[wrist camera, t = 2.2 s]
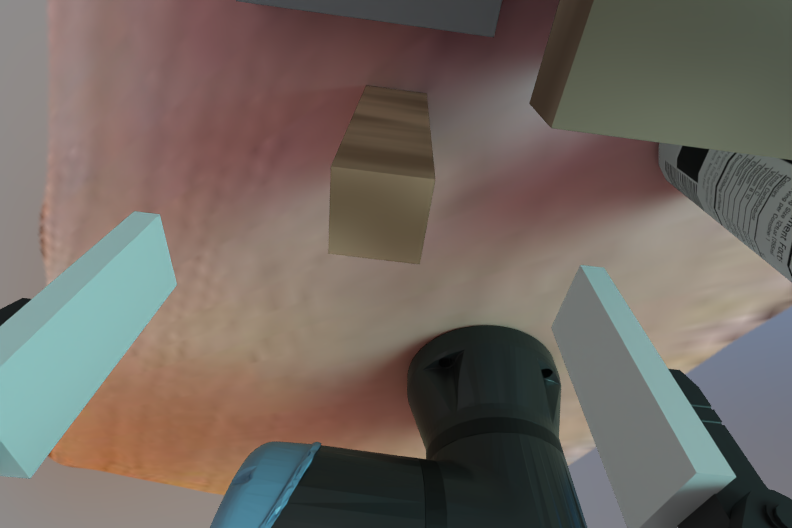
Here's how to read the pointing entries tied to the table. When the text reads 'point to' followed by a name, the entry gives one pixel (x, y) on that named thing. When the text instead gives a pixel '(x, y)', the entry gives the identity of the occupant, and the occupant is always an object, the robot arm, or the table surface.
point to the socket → (408, 12)
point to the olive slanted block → (672, 73)
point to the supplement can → (738, 196)
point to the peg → (383, 178)
